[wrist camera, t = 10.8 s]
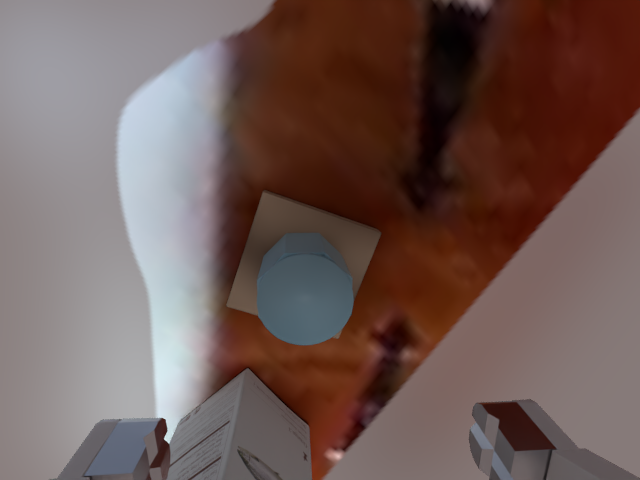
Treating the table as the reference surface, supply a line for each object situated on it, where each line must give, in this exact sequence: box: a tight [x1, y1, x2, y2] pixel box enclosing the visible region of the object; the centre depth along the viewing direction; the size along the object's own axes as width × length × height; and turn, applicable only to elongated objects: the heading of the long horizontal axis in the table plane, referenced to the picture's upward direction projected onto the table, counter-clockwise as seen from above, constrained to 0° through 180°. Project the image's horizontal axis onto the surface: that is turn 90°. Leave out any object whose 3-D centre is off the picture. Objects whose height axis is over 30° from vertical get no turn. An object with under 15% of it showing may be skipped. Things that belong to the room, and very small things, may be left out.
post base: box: [226, 190, 381, 339], centre depth 22 cm, size 8×8×4 cm
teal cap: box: [257, 233, 354, 345], centre depth 20 cm, size 5×5×5 cm
